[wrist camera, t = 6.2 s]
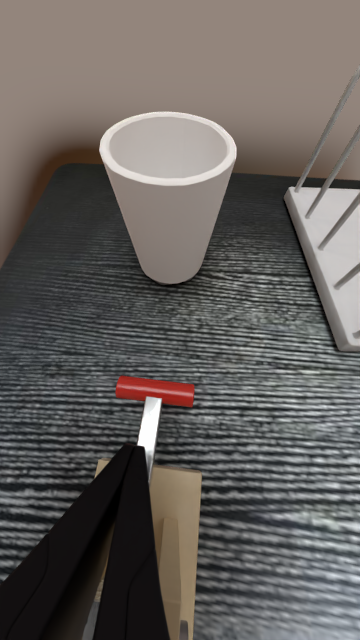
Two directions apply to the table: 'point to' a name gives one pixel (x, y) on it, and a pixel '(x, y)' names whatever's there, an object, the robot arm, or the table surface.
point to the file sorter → (332, 239)
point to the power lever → (145, 436)
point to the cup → (169, 187)
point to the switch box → (175, 541)
